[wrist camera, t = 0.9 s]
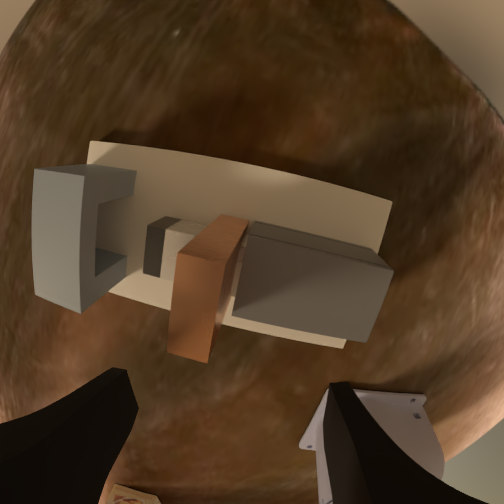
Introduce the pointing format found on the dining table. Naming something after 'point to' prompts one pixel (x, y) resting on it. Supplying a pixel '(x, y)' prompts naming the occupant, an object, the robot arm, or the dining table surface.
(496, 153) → the dining table surface
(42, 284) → the socket block
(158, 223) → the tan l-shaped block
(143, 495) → the coffeecake box
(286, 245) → the cream rectangular panel
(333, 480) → the robot arm
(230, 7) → the dining table surface
